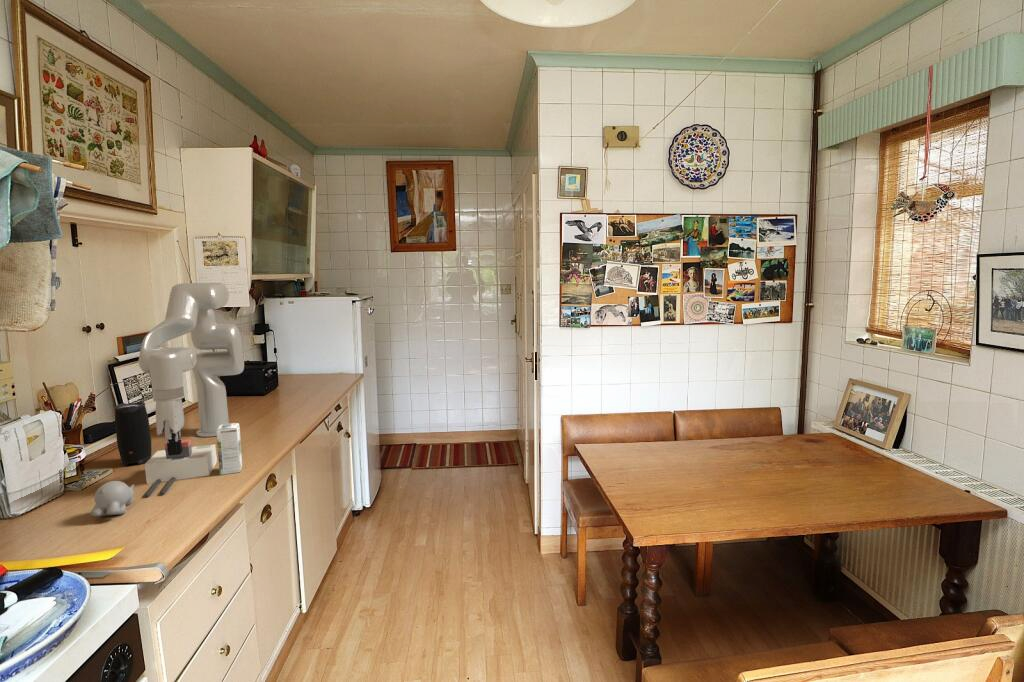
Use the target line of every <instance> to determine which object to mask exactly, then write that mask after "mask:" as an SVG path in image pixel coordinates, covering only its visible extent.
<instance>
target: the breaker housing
mask: <svg viewBox="0 0 1024 682" xmlns="http://www.w3.org/2000/svg"><path fill="white" fill-rule="evenodd" d="M191 448H192V453H191V455H190V456H186V457H177V458H169V459H166V451H165V449H163V450H156V451H155V453H154V454H152V455H151V458H150V459H149V460H148V461H147V462H146V463H144V469H145V470H144V471H145V472H144V473H145V479H146V484H148V485H149V484H154V483H155V482H156V480H157V479H161V482H160V483H163V482H168V481H169V480H170V479H171V478H172V477H175V481H178V480H185V479H194V478H200V477H201V478H202V477H209V476H210V474H212V471H213V470H214V468H215V466H216V464H217V463H218V459H217V446H216V444H215V443H214V444H206V445H198V446H191Z"/></svg>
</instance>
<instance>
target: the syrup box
mask: <svg viewBox="0 0 1024 682" xmlns="http://www.w3.org/2000/svg"><path fill="white" fill-rule="evenodd" d="M241 440H242V439H241V428H240V423H238V422H237V423H236V422H233V423H232V422H231V423H230V422H229V424H223V425H219V427H218V429H217V436H216V441H217V442H216V443H217V455H218V467H219V475H220V476H223V475H231V474H235V473H241V471H242V468H243V457H242V443H241Z"/></svg>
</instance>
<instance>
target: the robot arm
mask: <svg viewBox="0 0 1024 682" xmlns="http://www.w3.org/2000/svg"><path fill="white" fill-rule="evenodd" d="M229 297H230V295H229V289H228V288H227V286H226V285H225V284H224V283H222V282H184V283H183V282H182V283H177V284H175V285H173V286H172V287H171V289H170V293H169V297H168V303H167V307H166V311H165V312H166V313H165V317H164V320H163V321H161V322H160V323H158V324H157V325H156V326H155V327H153V328H152V329H151V330H150V331H148V333H147V334H146V335H145V336H144V338H143V340H142V342H141V346H140V350H139V356H138V365H139V368H140V370H141V371H142V372H144V373H146V374H149V375H150V380H151V381H150V383H151V391H152V399H153V402H155V426H156V434H157V436H161V435H163V434H164V439H165V441H166V443H167V448H168V455H178V454H181V453H182V444H181V440H182V438H181V437H182V436H181V435H182V434H181V429H183V427H184V425H185V414H184V406H183V400H182V399H184V398H185V389H184V379H183V378H184V377H183V373H186V372H189V371H191V370H192V373H193V377H194V380H195V381H194V382H195V386H196V394H197V395H196V396H197V406H198V413H199V414H198V415H199V423H200V424H199V426H200V428H199V429H198V430H196V432H195V433H196V436H197V437H203V438H204V437H205V438H209V437H217V429H218V427H219V425H223V424H230V420H229V410H228V400H227V399H228V398H227V390H226V385H225V383H224V382H223V381H222V380H221V378H219V377H222V376H223V377H224V376H236V375H240V374H241V373H243V372H244V370H245V359H244V351H243V344H242V337H241V333H240V329H239V328H238V326H237V325H235V324H233V323H217V321H216V315H215V310H218V309H220V308H222V307H225V306H226V305H227V304H228V302H229ZM189 333H190V337H191V341H192V345H193V347H194V348H195V349H197V350H200V351H201V350H202V352H199V353H196V352H195V351H194V350H193V349H192V348H189V347H185V346H184V347H183V346H182V347H180V346H179V347H161V348H159V347H160V346H162V345H163V344H164V343H167V342H169V341H171V340H173V339H176V338H180V337H181V336H184V335H186V334H189ZM207 350H214V351H207ZM215 350H216V351H215ZM217 350H219V351H217Z"/></svg>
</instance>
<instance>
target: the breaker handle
mask: <svg viewBox="0 0 1024 682" xmlns="http://www.w3.org/2000/svg"><path fill="white" fill-rule="evenodd" d="M180 440H181V444H182V453H181V454H178V455H168V448H167V442H166V443H165V444H164V450H165V451H166V459H169V458H177V457H186V456H190V455H191V453H192V448H191V447H192V441H191V438H189V439H180Z"/></svg>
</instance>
